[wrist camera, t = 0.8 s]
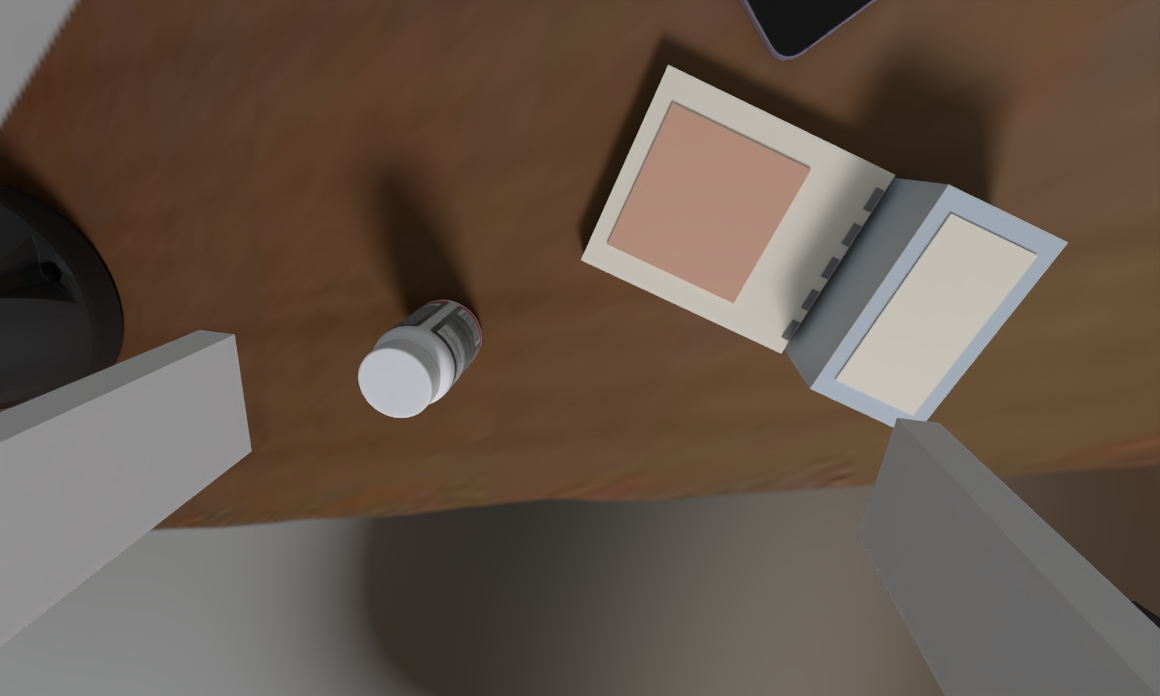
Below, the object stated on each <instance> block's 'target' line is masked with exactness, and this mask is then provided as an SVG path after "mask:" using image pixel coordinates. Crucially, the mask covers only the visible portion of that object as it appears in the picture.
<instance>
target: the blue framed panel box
mask: <svg viewBox="0 0 1160 696" xmlns="http://www.w3.org/2000/svg"><path fill="white" fill-rule="evenodd" d="M1067 243H1068V242H1066V241H1064V240H1062V239H1060V238H1058V237H1056V236H1054V235H1052V234H1049V233H1047V232H1045V231H1043V230H1041V229H1039V228H1037V227H1035V226H1033V225H1031V224H1029V223H1027V222H1025V221H1023V220H1021V219H1019V218H1017V217H1015V216H1012V215H1010V214H1008V213H1006V212H1004V211H1002V210H1000V209H998V208H996V207H994V206H992V205H990V204H988V203H986V202H984V201H982V200H980V199H978V198H975V197H973V196H971V195H969V194H967V193H965V192H963V191H961V190H959V189H957V188H955V187H953V186H951V185H949V184H940V183H932V182H924V181H916V180H907V179H899V178H894V179H893V181H892V182H891V184H890V185H889V187H888V189H887V190H886V192H885V193H884V195H883V196H882V198H881V200H880V201H879V203H878V204H877V206H876V207H875V209H874V210H873V212H872V214H871V215H870V217H869V218H868V220H867V221H866V223H865V225H864V226H863V228H862V229H861V231H860V232H859V234H858V235H857V237H856V239H855V240H854V242H853V243H852V245H851V246H850V248H849V250H848V251H847V253H846V254H845V256H844V257H843V259H842V261H841V262H840V264H839V265H838V267H837V268H836V270H835V271H834V273H833V275H832V276H831V278H830V279H829V281H828V282H827V284H826V286H825V287H824V289H823V290H822V292H821V293H820V295H819V296H818V298H817V300H816V301H815V303H814V304H813V306H812V307H811V309H810V311H809V312H808V314H807V315H806V317H805V318H804V320H803V322H802V323H801V325H800V326H799V328H798V329H797V331H796V332H795V334H794V336H793V337H792V339H791V340H790V342H789V343H788V345H787V347H786V348H785V350H784V351H785V352H786V354H787V355H788V357H789V358H790V359H791V361H792V362H793V364H794V365H795V367H796V368H797V370H798V371H799V373H800V374H801V376H802V377H803V379H804V380H805V382H806V383H807V385H808V386H809V388H810V389H812V390H814V391H816V392H818V393H821V394H823V395H825V396H827V397H829V398H831V399H833V400H836V401H838V402H840V403H842V404H844V405H846V406H848V407H851V408H853V409H855V410H857V411H859V412H861V413H864V414H866V415H868V416H870V417H872V418H874V419H876V420H879V421H881V422H883V423H885V424H887V425H889V426H891V427H894V425H895V422H896V419H897V418H903V419H910V420H918V421H927V419H928V418H929V417H930V416H931V414H932V413H933V412H934V411H935V409H936V408H937V407H938V406H939V404H940V403H941V402H942V401H943V399H944V398H945V397H946V395H947V394H948V393H949V392H950V390H951V389H952V388H953V387H954V385H955V384H956V383H957V382H958V380H959V379H960V378H961V377H962V375H963V374H964V373H965V372H966V370H967V369H968V368H969V367H970V365H971V364H972V363H973V362H974V360H975V359H976V358H977V357H978V355H979V354H980V353H981V351H982V350H983V349H984V348H985V346H986V345H987V344H988V343H989V341H990V340H991V339H992V338H993V336H994V335H995V334H996V333H997V331H998V330H999V329H1000V328H1001V326H1002V325H1003V324H1004V323H1005V321H1006V320H1007V319H1008V318H1009V316H1010V315H1011V314H1012V312H1013V311H1014V310H1015V309H1016V307H1017V306H1018V305H1019V304H1020V302H1021V301H1022V300H1023V299H1024V297H1025V296H1026V295H1027V294H1028V292H1029V291H1030V290H1031V289H1032V287H1033V286H1034V285H1035V284H1036V282H1037V281H1038V280H1039V279H1040V277H1041V276H1042V275H1043V274H1044V272H1045V271H1046V270H1047V268H1048V267H1049V266H1050V265H1051V263H1052V262H1053V261H1054V260H1055V258H1056V257H1057V256H1058V255H1059V253H1060V252H1061V251H1062V250H1063V248H1064V247H1065V246H1066V245H1067Z"/></svg>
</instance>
